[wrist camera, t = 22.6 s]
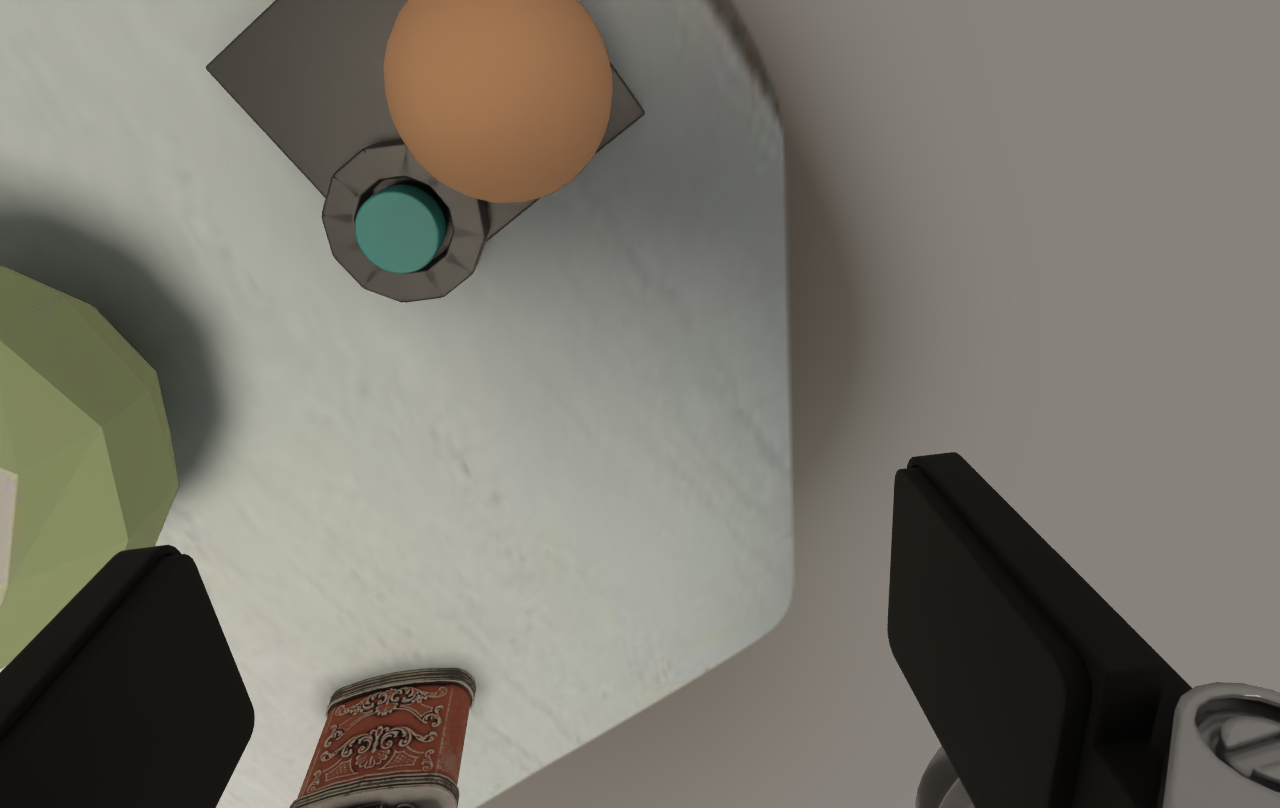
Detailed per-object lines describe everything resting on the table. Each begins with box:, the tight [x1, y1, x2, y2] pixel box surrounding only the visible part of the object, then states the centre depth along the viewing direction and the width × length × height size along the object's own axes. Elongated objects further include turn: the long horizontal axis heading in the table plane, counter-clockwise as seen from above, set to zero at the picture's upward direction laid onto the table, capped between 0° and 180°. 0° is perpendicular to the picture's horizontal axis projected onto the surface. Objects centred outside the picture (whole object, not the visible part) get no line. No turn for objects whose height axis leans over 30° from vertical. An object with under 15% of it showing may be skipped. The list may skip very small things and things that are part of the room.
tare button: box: [355, 184, 446, 274], centre depth 28 cm, size 3×3×2 cm
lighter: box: [290, 668, 476, 808], centre depth 37 cm, size 8×3×10 cm, turn 99°
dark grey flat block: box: [206, 0, 645, 302], centre depth 28 cm, size 12×13×3 cm
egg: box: [383, 0, 613, 203], centre depth 25 cm, size 7×7×8 cm
